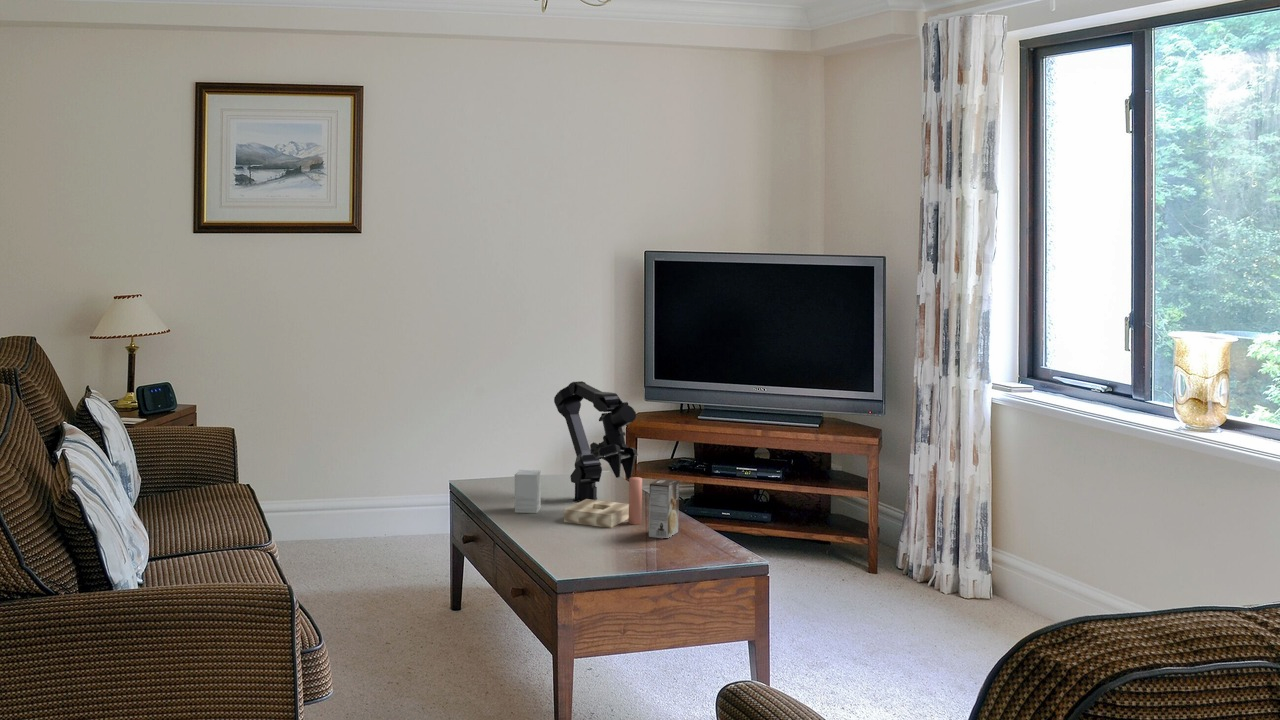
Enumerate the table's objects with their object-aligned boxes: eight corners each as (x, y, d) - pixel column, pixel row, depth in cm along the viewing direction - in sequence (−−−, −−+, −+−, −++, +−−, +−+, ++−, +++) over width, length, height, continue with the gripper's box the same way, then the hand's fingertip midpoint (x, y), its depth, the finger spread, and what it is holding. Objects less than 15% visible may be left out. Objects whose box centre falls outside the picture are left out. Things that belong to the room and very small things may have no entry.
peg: (626, 523, 337) (627, 479, 336) (631, 520, 341) (632, 476, 339) (638, 525, 335) (639, 480, 334) (643, 522, 339) (644, 477, 338)
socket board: (563, 521, 337) (564, 509, 337) (586, 511, 352) (586, 498, 352) (611, 527, 331) (611, 515, 331) (631, 516, 346) (632, 504, 346)
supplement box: (541, 508, 354) (541, 470, 353) (536, 513, 347) (537, 474, 346) (518, 507, 355) (519, 469, 354) (513, 512, 348) (514, 473, 347)
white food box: (658, 529, 330) (660, 477, 329) (678, 532, 328) (680, 479, 326) (647, 537, 322) (649, 483, 320) (668, 539, 319) (669, 485, 318)
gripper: (603, 439, 363) (612, 485, 359) (579, 435, 346) (589, 483, 342) (633, 431, 359) (643, 477, 355) (610, 425, 342) (620, 474, 338)
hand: (623, 478), depth 348 cm, fingers open, 9 cm apart
